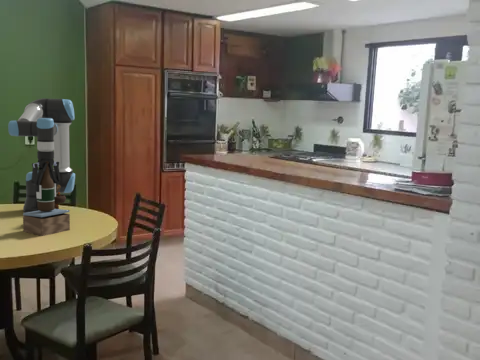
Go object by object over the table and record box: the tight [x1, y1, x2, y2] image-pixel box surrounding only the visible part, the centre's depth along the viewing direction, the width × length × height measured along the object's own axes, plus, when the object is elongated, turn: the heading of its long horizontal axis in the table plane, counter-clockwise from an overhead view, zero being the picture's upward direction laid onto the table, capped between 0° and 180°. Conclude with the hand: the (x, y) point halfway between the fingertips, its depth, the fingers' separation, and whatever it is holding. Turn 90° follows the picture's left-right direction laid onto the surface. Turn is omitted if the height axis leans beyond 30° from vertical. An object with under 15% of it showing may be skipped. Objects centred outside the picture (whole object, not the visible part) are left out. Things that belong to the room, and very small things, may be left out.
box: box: [22, 213, 71, 237], centre depth 244 cm, size 16×14×8 cm
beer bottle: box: [37, 161, 55, 211], centre depth 242 cm, size 8×8×24 cm
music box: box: [54, 185, 67, 209], centre depth 263 cm, size 15×11×20 cm
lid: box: [22, 208, 71, 217], centre depth 244 cm, size 16×14×1 cm
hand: (46, 197), depth 243 cm, fingers closed on beer bottle, 8 cm apart
